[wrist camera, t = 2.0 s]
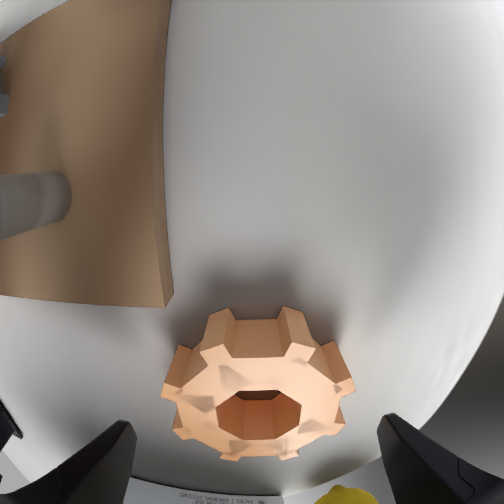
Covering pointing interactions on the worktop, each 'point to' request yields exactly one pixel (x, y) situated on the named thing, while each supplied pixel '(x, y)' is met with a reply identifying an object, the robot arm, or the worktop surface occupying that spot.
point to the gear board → (85, 156)
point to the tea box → (186, 496)
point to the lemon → (346, 496)
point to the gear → (257, 386)
